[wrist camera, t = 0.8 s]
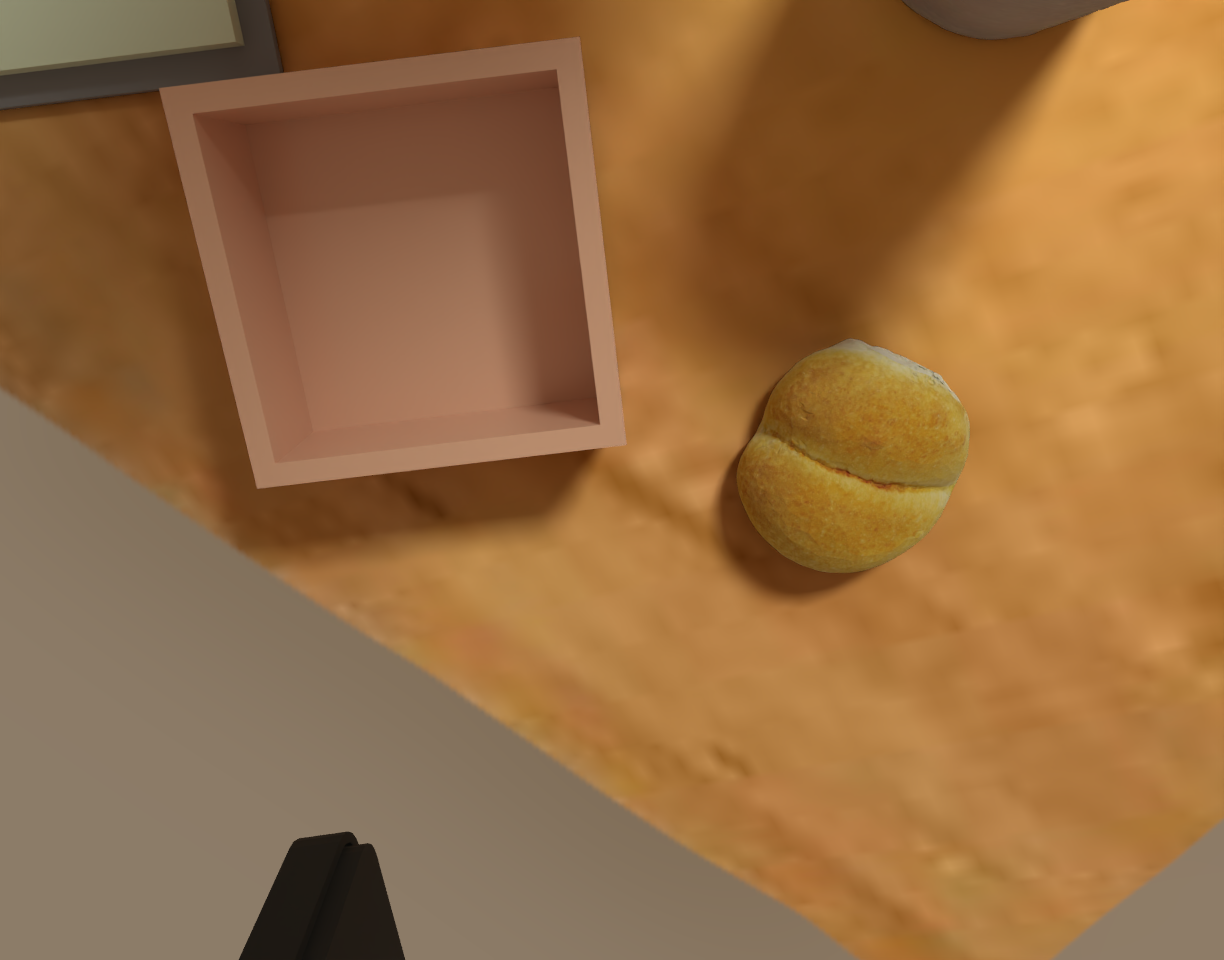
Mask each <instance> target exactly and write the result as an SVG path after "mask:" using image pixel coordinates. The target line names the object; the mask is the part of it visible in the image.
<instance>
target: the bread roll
mask: <svg viewBox="0 0 1224 960" xmlns="http://www.w3.org/2000/svg"><path fill="white" fill-rule="evenodd" d="M969 438H970V426H969V419H968V415H967V412H966V410H965V409H964V407H963V406H962V404H961V402H960V400H959V399H958V397H957V396H956V394H955V393H954V392H953V391H952V390H951V389H950V388H949V386H948V385H947V383H946V382H945V381H944V380H943V379H942V376H941V375H939V374H937V373H934V372H933V371H931V370H929V369H928V368H927V369H926V368H925V367H923V366H921V365H919V364H917V363H915V362H913V361H911V360H909V359H907V358H905V357H903V356H901V355H898V354H895V353H893V352H891V351H889V350H888V349H884V348H881V347H878V346H873V347H872V346H870V345H868V344H866V343H865V342H863V341H861V340H856V339H852V338H849V339H846V340H844V341H842V342H840V343H838V344H836V345H834V346H832V347H829V348H826V349H823V350H820V351H817V352H815V353H813V354H811V355H809V356H807V357H805V358H804V359H802V360H800V361H799V362H797V363H796V364H795V365H794V366H793V367H792V368H791V369H790V370H789V371H788V372H787V373H786V374H785V376H784V377H783V378H782V379H781V380H780V381H779V382H778V384H777V385H776V387H775V388H774V390H773V391H772V393H771V395H770V398H769V400H768V403H767V406H766V409H765V412H764V416H763V419H762V421H761V423H760V425H759V427H758V430H757V432H756V434H755V435H754V437H753V438H752V439H751V440H750V442H749V443H748V445H747V447H746V448H745V450H744V452H743V454H742V456H741V458H740V461H739V464H738V469H737V473H736V478H737V487H738V491H739V495H740V498H741V501H742V504H743V506H744V508H745V511H746V513H747V515H748V517H749V519H750V521H751V522H752V524H753V525H754V527H755V528H756V530H757V531H758V533H759V534H760V535H761V536H762V537H763V538H764V539H765V540H766V541H767V542H768V543H769V544H770V545H771V546H772V547H774V548H775V549H776V550H777V551H778V552H779V553H780V554H782V555H783V556H784V557H786V558H788V559H790V560H792V561H794V562H796V563H798V564H800V565H802V566H805V567H808V568H811V569H814V570H817V571H821V572H829V573H852V572H858V571H864V570H868V569H871V568H874V567H877V566H879V565H882V564H884V563H886V562H888V561H890V560H892V559H894V558H896V557H897V556H899V555H901V554H902V553H904V552H905V551H907V550H908V549H910V548H911V547H912V546H914V545H915V544H916V543H918V542H919V541H920V540H921V539H922V538H924V537H925V536H926V535H927V534H928V533H929V531H930V530H931V529H932V527H933V526H934V524H935V523H936V522H937V520H938V519H939V518H940V516H941V514H942V512H943V510H944V508H945V505H946V503H947V501H948V499H949V497H950V495H951V492H952V490H953V488H954V486H955V484H956V482H957V480H958V478H959V476H960V474H961V472H962V470H963V468H964V465H965V462H966V459H967V456H968V447H969Z"/></svg>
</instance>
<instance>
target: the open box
mask: <svg viewBox="0 0 1224 960" xmlns="http://www.w3.org/2000/svg"><path fill="white" fill-rule="evenodd" d="M159 91H160V95H161V99H162V103H163V107H164V111H165V115H166V119H167V123H168V127H169V132H170V136H171V140H172V144H173V148H174V152H175V156H176V160H177V164H178V168H179V172H180V176H181V180H182V184H183V189H184V193H185V197H186V201H187V205H188V209H189V213H190V217H191V221H192V225H193V229H194V233H195V237H196V242H197V246H198V250H199V254H200V258H201V262H202V266H203V270H204V274H205V278H206V282H207V286H208V290H209V295H210V299H211V303H212V307H213V311H214V315H215V319H216V323H217V327H218V331H219V335H220V339H221V343H222V347H223V352H224V356H225V360H226V364H227V368H228V372H229V376H230V380H231V384H232V388H233V392H234V396H235V400H236V405H237V409H238V413H239V417H240V421H241V425H242V429H243V433H244V437H245V441H246V445H247V449H248V453H249V458H250V462H251V466H252V470H253V474H254V478H255V482H256V486H257V489H260V488H268V487H277V486H285V485H294V484H302V483H310V482H319V481H327V480H336V479H344V478H353V477H361V476H369V475H378V474H386V473H395V472H403V471H412V470H420V469H428V468H437V467H445V466H454V465H462V464H470V463H479V462H487V461H496V460H504V459H513V458H521V457H529V456H538V455H546V454H555V453H563V452H572V451H580V450H588V449H597V448H605V447H614V446H622V445H627V444H626V435H625V426H624V418H623V409H622V400H621V392H620V383H619V374H618V365H617V357H616V348H615V339H614V330H613V322H612V313H611V304H610V296H609V287H608V278H607V269H606V261H605V252H604V243H603V234H602V226H601V217H600V208H599V199H598V191H597V182H596V173H595V165H594V156H593V147H592V138H591V130H590V121H589V112H588V103H587V95H586V86H585V77H584V69H583V60H582V51H581V42H580V37H572V38H564V39H556V40H548V41H540V42H531V43H523V44H515V45H507V46H499V47H491V48H482V49H474V50H466V51H458V52H450V53H442V54H433V55H425V56H417V57H409V58H401V59H393V60H385V61H376V62H368V63H360V64H352V65H344V66H336V67H327V68H319V69H311V70H303V71H295V72H287V73H278V74H270V75H262V76H254V77H246V78H238V79H230V80H221V81H213V82H205V83H197V84H189V85H181V86H172V87H164V88H159Z"/></svg>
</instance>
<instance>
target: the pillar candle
mask: <svg viewBox="0 0 1224 960" xmlns="http://www.w3.org/2000/svg"><path fill="white" fill-rule="evenodd" d="M902 1H903V2H904V3H905V4H906V5H907V6H909V7H910V8H911V9H913V10H914V11H915V12H916V13H918V14H920V15H921V16H923V17H924V18H926V19H928V20H930V21H931V22H933V23H935V24H937V25H939V26H940V27H941V28H943V29H946V30H948V31H951V32H953V33H957V34H960V35H964V36H968V37H972V38H977V39H987V40H995V39H1007V38H1013V37H1020V36H1027V35H1032V34H1034V33H1036V32H1038V31H1040V30H1043V29H1046V28H1049V27H1053V26H1056V25H1059V24H1061V23H1064V22H1067V21H1069V20H1074V19H1077V18H1080V17H1083V16H1085V15H1088V14H1091V13H1093V12H1096V11H1098V10H1102V9H1105V8H1108V7H1110V6H1113V5H1116V4H1118V3H1120V2H1125V1H1128V0H902Z"/></svg>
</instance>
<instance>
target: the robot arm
mask: <svg viewBox="0 0 1224 960" xmlns="http://www.w3.org/2000/svg"><path fill="white" fill-rule="evenodd" d="M239 960H405V957H404V954H403V950H402V946H401V943H400V939H399V935H398V932H397V928H396V924H395V921H394V917H393V913H392V910H391V906H390V902H389V899H388V895H387V891H386V888H385V885H384V880H383V877H382V873H381V869H380V866H379V862H378V858H377V855H376V852H375V849H374V847H373V846H372V845H371V844H368V843H367V844H360V845H359V844H358V842H357V839H356V837H355V836H354V835H353V833H351V832H342V833H335V834H328V835H320V836H314V837H307V838H299V839H297V840H296V841H294V842H293V844H292V846H291V847H290V849H289V851H288V853H287V855H286V857H285V860H284V862H283V864H282V866H281V868H280V870H279V873H278V875H277V877H276V879H275V881H274V884H273V886H272V888H271V890H270V892H269V895H268V897H267V899H266V901H265V903H264V905H263V908H262V910H261V912H260V914H259V917H258V919H257V921H256V923H255V926H254V927H253V930H252V932H251V934H250V936H249V938H248V941H247V943H246V945H245V947H244V949H243V952H242V954H241V956H240V958H239Z"/></svg>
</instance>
